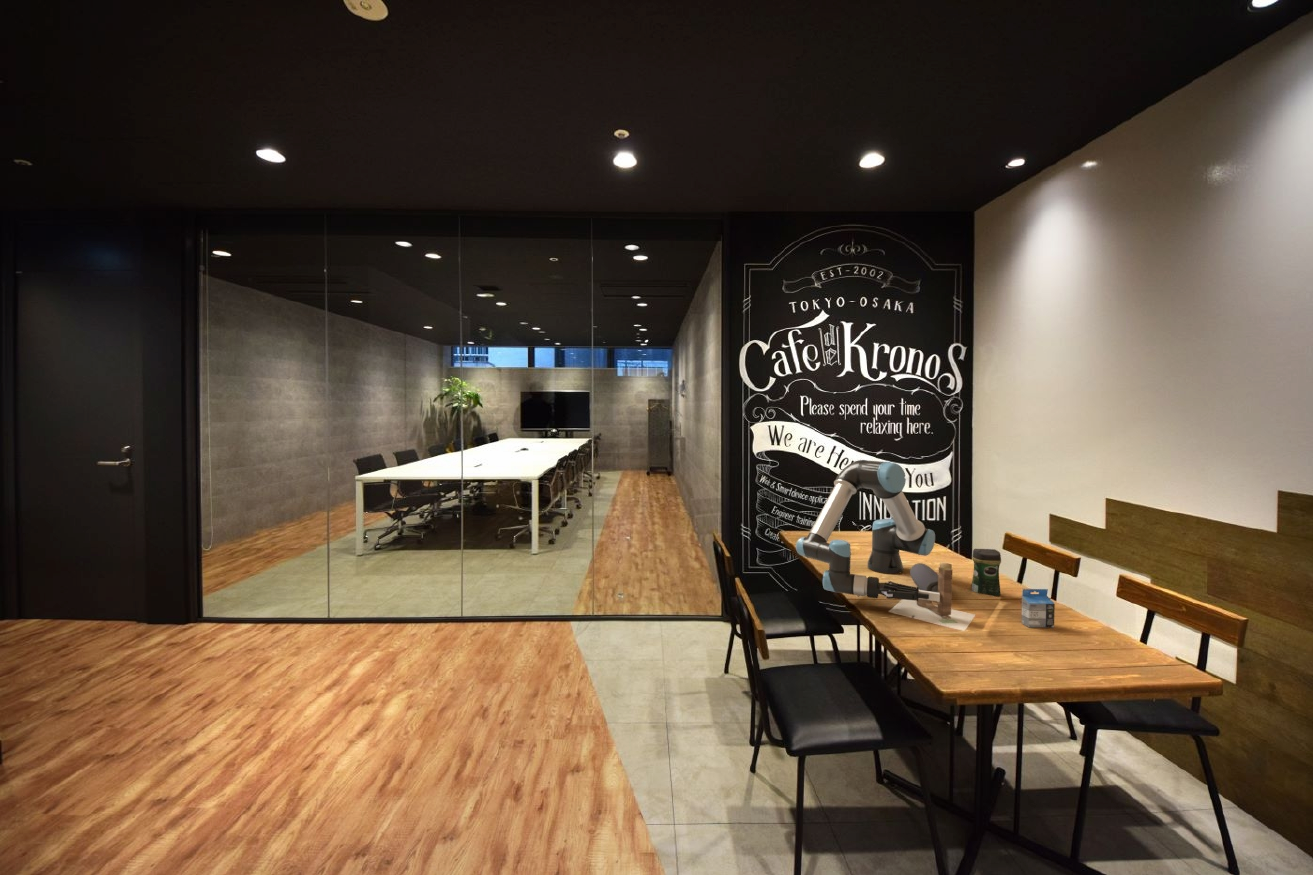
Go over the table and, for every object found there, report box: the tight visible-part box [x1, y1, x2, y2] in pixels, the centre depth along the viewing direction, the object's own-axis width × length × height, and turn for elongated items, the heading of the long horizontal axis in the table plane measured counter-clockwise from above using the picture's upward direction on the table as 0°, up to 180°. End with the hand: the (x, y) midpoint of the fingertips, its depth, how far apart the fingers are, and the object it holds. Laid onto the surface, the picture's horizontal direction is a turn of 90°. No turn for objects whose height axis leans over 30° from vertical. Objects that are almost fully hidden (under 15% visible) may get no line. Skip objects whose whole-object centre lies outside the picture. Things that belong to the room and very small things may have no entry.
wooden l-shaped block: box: [917, 562, 953, 619], centre depth 185 cm, size 16×5×19 cm, turn 6°
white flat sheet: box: [888, 599, 976, 632], centre depth 184 cm, size 24×18×2 cm
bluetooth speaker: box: [909, 562, 939, 593], centre depth 206 cm, size 23×9×10 cm, turn 168°
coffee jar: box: [970, 548, 1002, 598], centre depth 206 cm, size 10×8×19 cm
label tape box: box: [1020, 588, 1056, 628], centre depth 177 cm, size 9×4×12 cm, turn 89°
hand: (939, 597), depth 179 cm, fingers closed
